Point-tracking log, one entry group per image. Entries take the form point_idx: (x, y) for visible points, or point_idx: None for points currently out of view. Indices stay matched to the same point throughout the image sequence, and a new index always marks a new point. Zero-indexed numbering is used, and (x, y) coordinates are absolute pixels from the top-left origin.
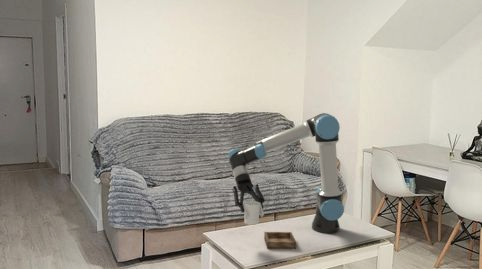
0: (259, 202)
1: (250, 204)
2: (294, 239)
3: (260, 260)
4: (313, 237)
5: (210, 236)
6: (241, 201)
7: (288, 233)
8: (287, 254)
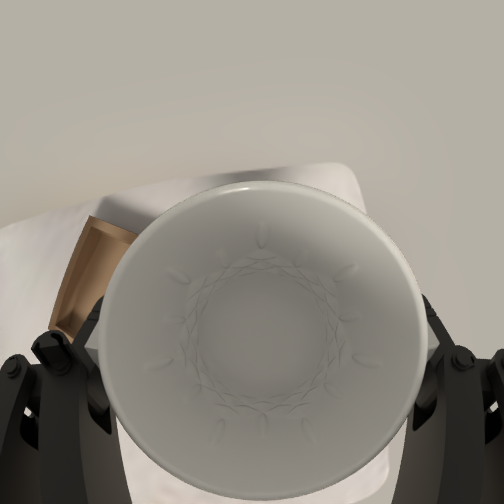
0: (100, 327)
1: (234, 456)
2: (77, 245)
3: (288, 170)
4: (14, 303)
5: (385, 464)
6: (473, 392)
7: (60, 328)
8: (160, 189)
